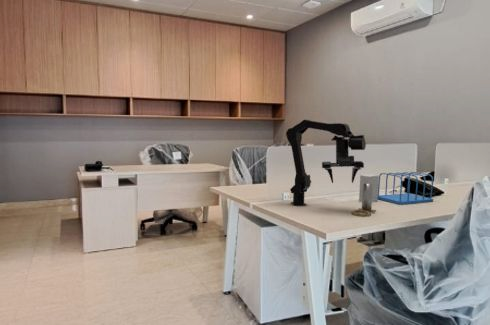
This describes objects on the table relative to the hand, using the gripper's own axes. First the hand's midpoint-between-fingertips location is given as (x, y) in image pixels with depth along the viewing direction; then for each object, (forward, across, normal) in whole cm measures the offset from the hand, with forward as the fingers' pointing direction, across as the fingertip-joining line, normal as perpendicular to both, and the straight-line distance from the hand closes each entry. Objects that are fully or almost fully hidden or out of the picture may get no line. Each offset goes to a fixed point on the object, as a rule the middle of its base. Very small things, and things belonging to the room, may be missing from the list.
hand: (342, 182), depth 167 cm
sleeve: (+14, +11, 0) cm, 17 cm away
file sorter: (+15, +38, +34) cm, 53 cm away
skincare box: (+14, +17, +25) cm, 33 cm away
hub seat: (+14, +7, -8) cm, 18 cm away
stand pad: (+14, +11, 0) cm, 18 cm away
